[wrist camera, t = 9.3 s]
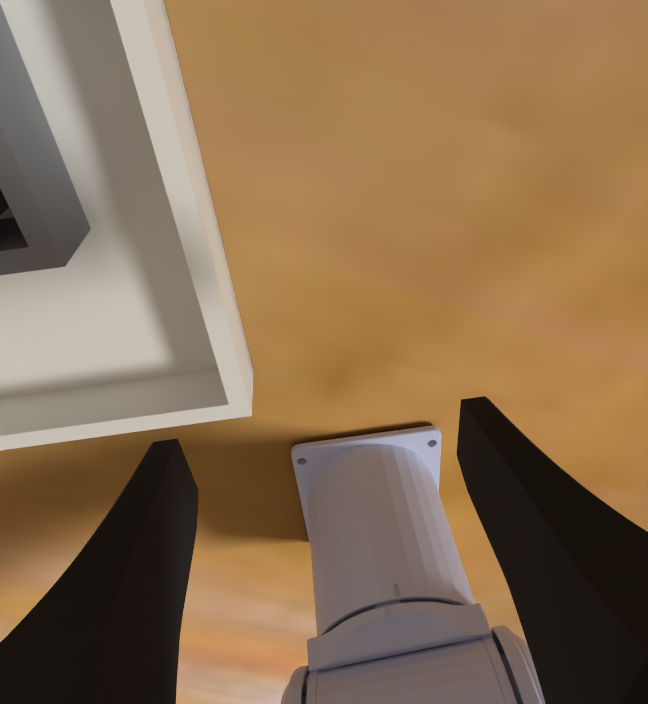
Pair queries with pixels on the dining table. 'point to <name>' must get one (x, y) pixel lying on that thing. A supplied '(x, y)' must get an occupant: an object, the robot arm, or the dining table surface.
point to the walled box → (107, 233)
